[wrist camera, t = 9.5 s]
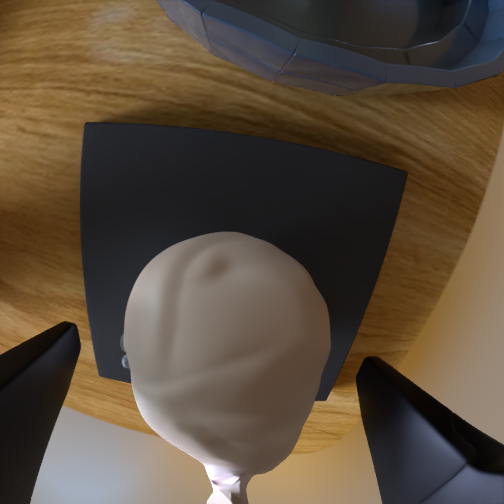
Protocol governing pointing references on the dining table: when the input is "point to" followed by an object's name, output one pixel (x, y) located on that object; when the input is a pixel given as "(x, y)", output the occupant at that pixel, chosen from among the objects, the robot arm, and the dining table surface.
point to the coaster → (229, 218)
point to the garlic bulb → (226, 354)
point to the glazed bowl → (351, 41)
